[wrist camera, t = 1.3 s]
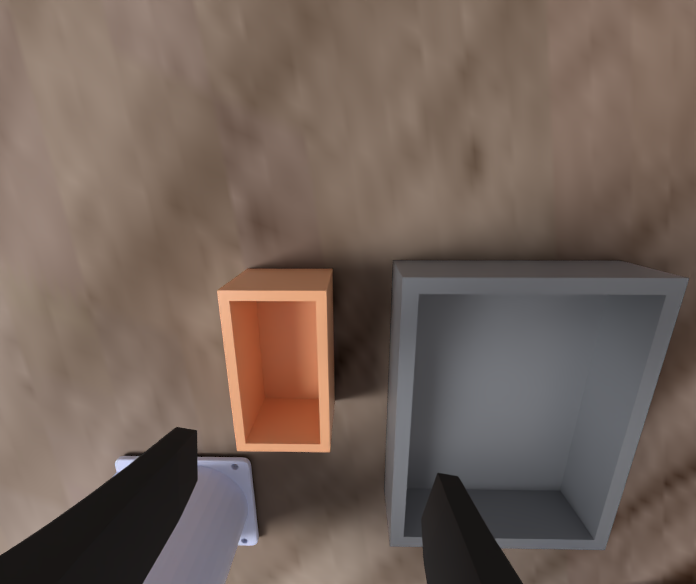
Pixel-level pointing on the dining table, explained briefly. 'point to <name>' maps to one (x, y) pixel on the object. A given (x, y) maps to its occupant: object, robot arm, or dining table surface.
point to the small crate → (280, 358)
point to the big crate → (522, 391)
